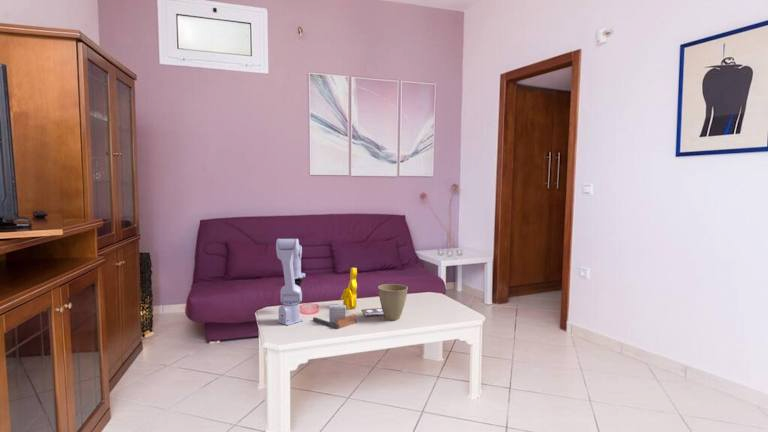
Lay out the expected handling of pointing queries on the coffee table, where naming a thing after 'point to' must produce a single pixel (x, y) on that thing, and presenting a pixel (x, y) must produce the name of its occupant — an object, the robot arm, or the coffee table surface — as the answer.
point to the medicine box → (336, 312)
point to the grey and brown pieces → (338, 321)
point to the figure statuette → (350, 291)
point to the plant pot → (392, 300)
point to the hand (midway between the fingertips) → (295, 293)
